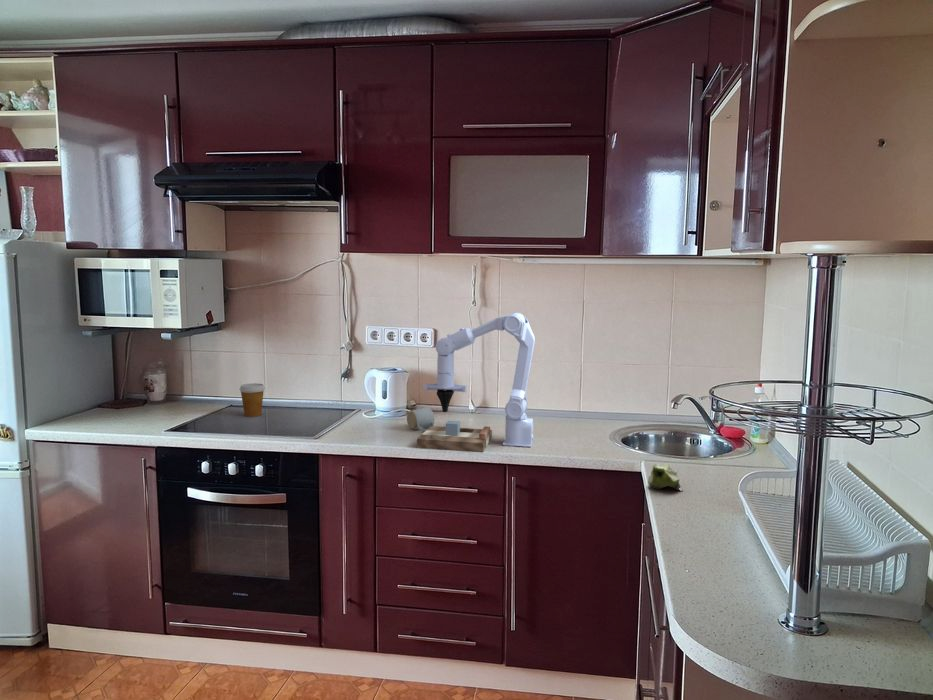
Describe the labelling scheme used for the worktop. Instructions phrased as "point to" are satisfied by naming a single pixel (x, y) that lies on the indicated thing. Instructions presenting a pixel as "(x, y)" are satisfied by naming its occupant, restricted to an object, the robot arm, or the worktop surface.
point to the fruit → (663, 476)
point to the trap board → (455, 439)
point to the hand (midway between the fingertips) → (445, 411)
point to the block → (453, 428)
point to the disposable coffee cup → (252, 398)
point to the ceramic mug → (420, 419)
